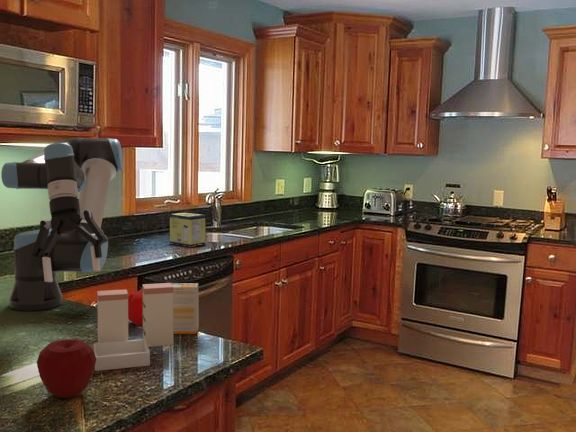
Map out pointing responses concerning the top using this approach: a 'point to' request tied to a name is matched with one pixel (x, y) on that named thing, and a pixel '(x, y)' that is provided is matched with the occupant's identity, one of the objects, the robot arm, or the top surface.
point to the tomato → (135, 307)
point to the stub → (112, 315)
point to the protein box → (187, 229)
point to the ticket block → (157, 314)
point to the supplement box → (185, 308)
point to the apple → (66, 367)
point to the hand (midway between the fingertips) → (72, 276)
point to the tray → (121, 354)
